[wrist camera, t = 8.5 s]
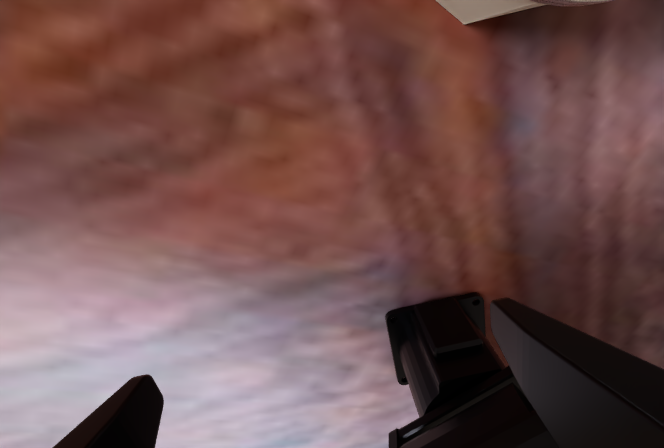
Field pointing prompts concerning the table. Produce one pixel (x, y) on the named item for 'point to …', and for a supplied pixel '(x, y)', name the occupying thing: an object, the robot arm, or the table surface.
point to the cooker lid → (570, 2)
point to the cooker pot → (484, 8)
